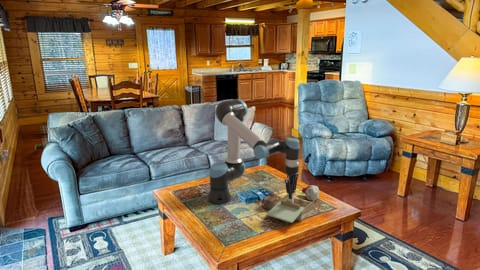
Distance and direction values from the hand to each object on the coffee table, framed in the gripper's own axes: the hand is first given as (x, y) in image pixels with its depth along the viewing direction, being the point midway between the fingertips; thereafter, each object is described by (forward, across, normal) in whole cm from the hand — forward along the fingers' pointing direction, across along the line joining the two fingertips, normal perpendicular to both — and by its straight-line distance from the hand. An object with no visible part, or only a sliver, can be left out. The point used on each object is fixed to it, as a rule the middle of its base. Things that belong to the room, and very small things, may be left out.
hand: (291, 203), depth 190 cm
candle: (+8, +28, 0) cm, 29 cm away
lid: (+3, -7, 0) cm, 7 cm away
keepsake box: (+7, +4, 0) cm, 9 cm away
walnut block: (+8, +1, +15) cm, 17 cm away
